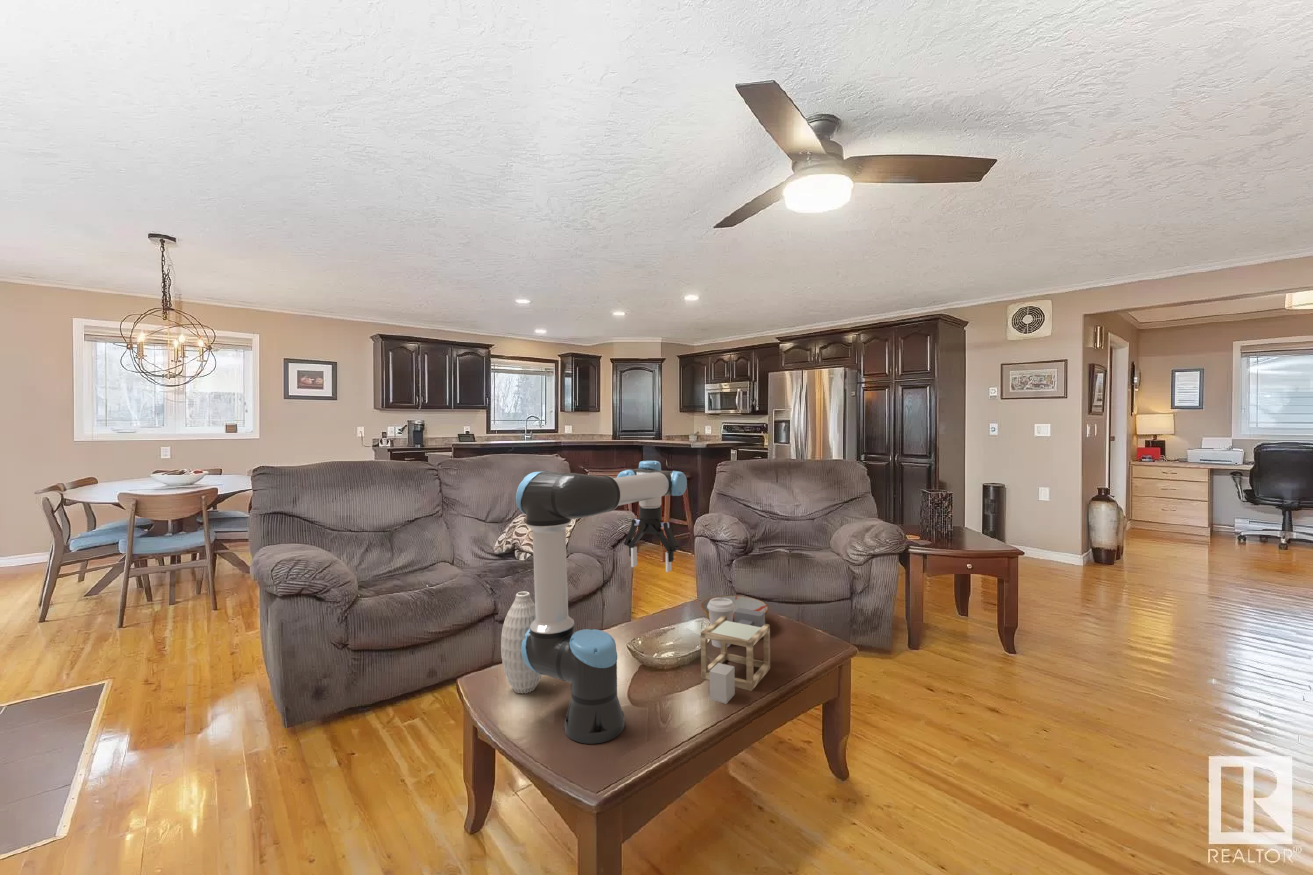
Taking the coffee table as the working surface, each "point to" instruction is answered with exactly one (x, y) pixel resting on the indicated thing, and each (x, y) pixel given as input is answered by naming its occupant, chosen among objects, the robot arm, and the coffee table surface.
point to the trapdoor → (742, 624)
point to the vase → (518, 644)
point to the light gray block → (722, 683)
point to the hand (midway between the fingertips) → (651, 568)
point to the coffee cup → (720, 613)
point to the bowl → (739, 604)
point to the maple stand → (748, 660)
